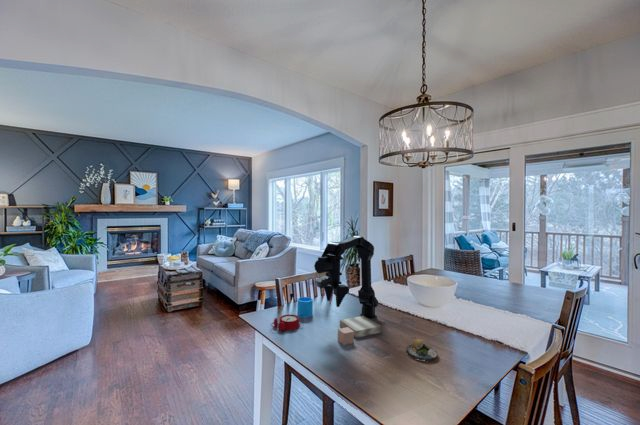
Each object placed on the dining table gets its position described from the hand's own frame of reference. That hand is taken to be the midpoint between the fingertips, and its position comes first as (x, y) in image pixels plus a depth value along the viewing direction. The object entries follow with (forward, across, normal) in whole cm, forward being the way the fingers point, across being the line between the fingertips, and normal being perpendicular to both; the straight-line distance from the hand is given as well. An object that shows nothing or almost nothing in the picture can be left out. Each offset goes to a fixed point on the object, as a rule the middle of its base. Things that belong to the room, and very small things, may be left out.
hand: (333, 303), depth 134 cm
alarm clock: (+14, -15, -18) cm, 27 cm away
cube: (+14, +10, +1) cm, 17 cm away
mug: (+14, -28, -3) cm, 31 cm away
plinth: (+13, +2, +14) cm, 19 cm away
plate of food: (+14, +31, +24) cm, 42 cm away
